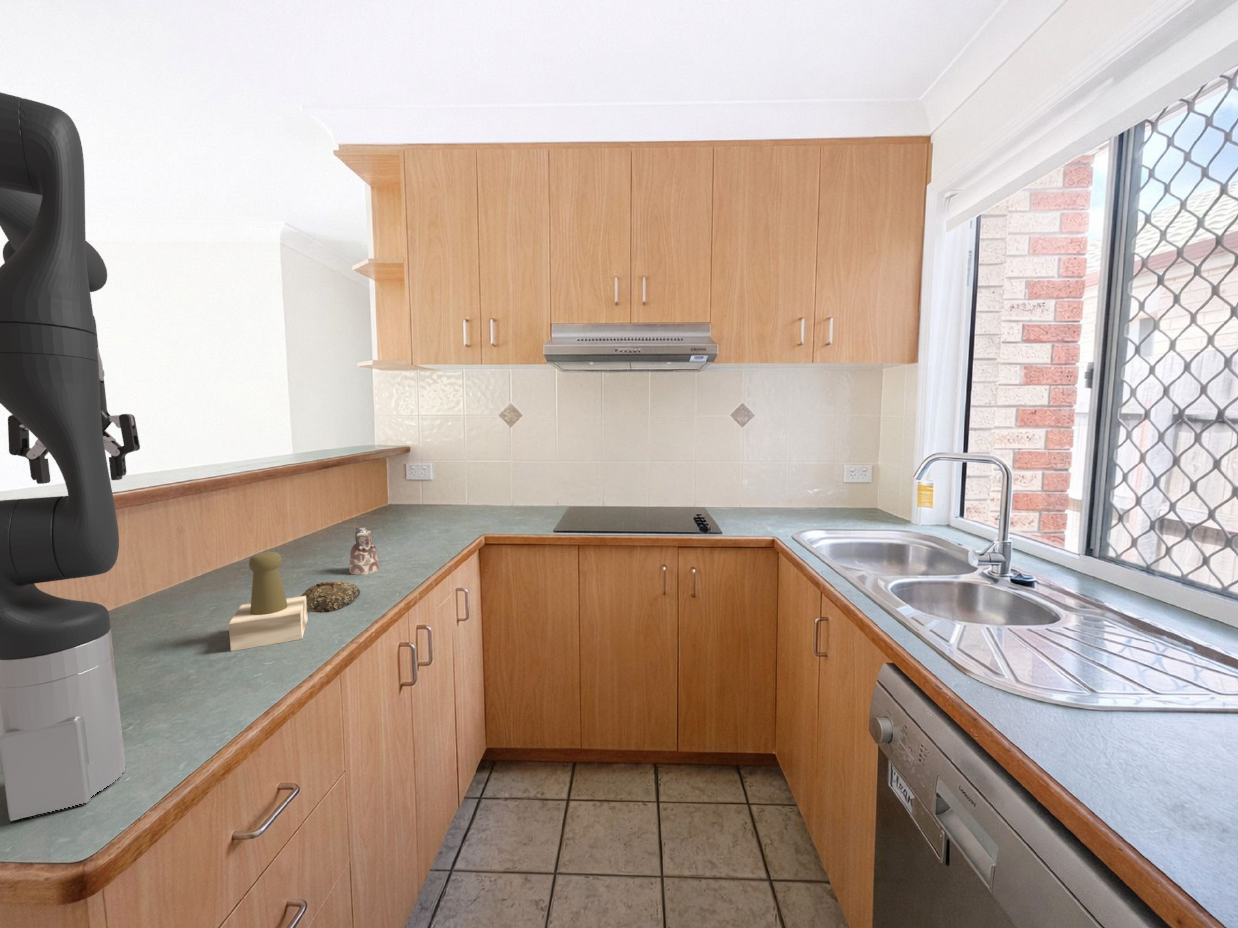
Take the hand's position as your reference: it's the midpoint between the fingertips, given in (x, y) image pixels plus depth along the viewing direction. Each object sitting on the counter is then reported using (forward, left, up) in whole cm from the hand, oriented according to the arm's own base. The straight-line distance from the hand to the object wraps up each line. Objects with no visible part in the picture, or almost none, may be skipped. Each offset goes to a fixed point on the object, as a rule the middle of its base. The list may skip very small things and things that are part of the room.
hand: (81, 481), depth 82 cm
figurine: (+46, -38, -32) cm, 68 cm away
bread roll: (+23, -30, -33) cm, 50 cm away
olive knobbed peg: (+8, -22, -27) cm, 36 cm away
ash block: (+8, -22, -32) cm, 40 cm away
